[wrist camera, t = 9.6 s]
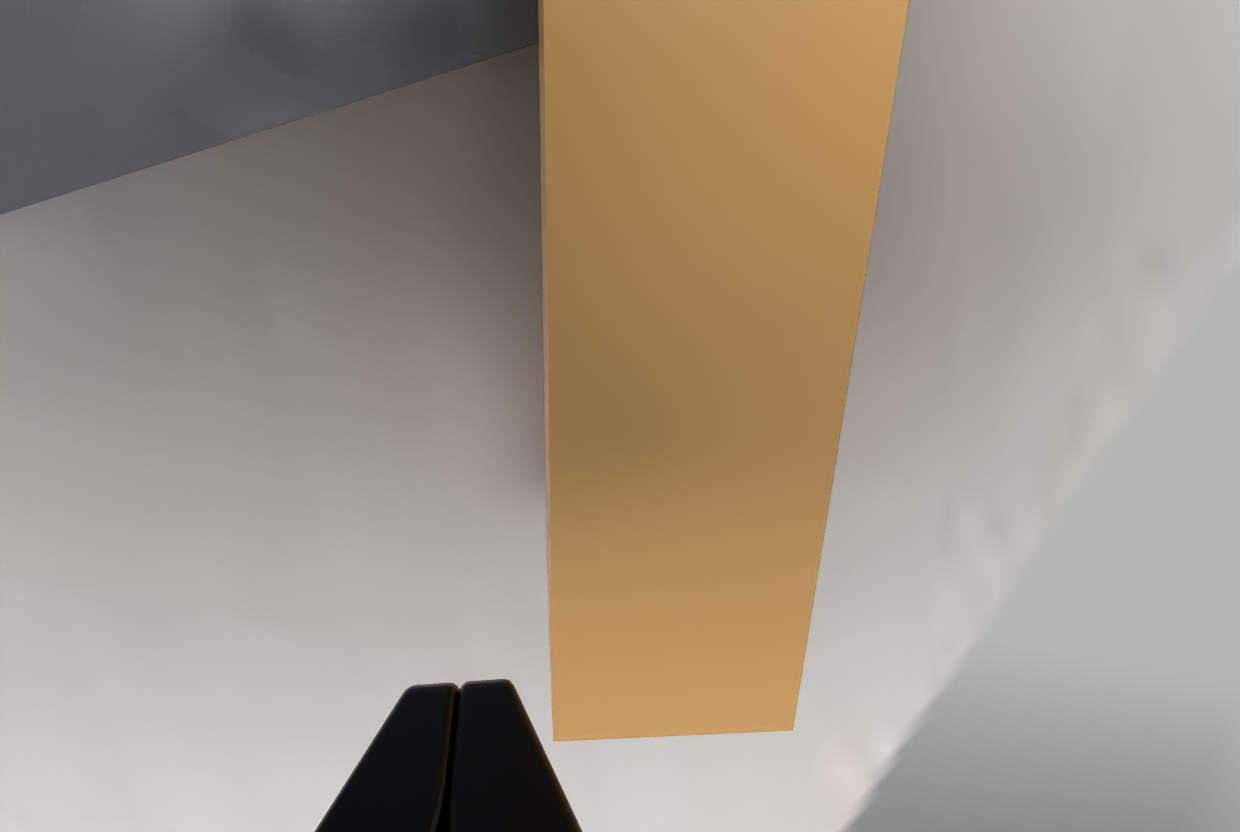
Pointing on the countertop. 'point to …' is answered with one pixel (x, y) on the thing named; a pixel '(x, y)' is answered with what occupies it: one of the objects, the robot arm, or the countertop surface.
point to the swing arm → (699, 341)
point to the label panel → (209, 73)
